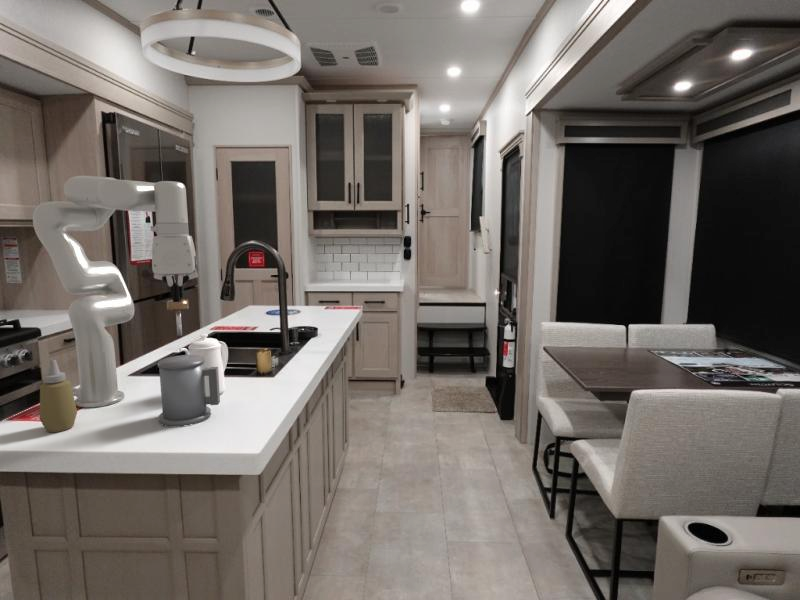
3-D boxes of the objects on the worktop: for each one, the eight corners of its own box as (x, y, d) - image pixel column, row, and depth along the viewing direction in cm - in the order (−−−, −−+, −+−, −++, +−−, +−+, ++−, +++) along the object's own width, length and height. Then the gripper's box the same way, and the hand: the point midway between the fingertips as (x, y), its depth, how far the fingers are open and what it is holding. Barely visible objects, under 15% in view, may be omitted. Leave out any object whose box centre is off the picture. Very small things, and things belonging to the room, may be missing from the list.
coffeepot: (164, 406, 145) (160, 342, 142) (213, 380, 169) (210, 326, 166) (198, 408, 143) (194, 344, 140) (242, 382, 167) (240, 327, 164)
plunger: (166, 337, 130) (163, 302, 129) (172, 333, 135) (170, 299, 134) (187, 336, 131) (185, 302, 129) (192, 332, 136) (190, 299, 134)
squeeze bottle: (37, 436, 124) (29, 366, 121) (45, 425, 131) (37, 358, 128) (75, 431, 127) (68, 362, 124) (81, 420, 134) (74, 355, 132)
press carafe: (151, 428, 129) (147, 367, 126) (167, 410, 141) (163, 355, 139) (214, 424, 131) (211, 365, 129) (224, 407, 144) (221, 353, 141)
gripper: (136, 230, 124) (142, 303, 127) (199, 230, 126) (204, 302, 129) (147, 230, 132) (152, 299, 134) (206, 230, 134) (210, 298, 136)
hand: (177, 300), depth 131 cm, fingers closed
